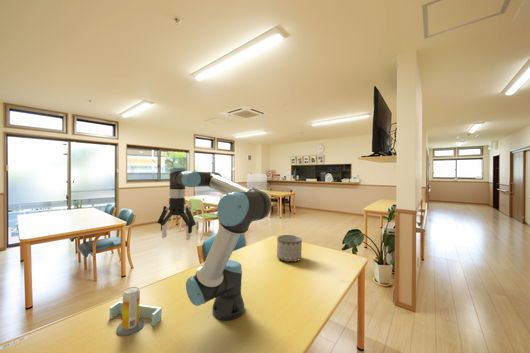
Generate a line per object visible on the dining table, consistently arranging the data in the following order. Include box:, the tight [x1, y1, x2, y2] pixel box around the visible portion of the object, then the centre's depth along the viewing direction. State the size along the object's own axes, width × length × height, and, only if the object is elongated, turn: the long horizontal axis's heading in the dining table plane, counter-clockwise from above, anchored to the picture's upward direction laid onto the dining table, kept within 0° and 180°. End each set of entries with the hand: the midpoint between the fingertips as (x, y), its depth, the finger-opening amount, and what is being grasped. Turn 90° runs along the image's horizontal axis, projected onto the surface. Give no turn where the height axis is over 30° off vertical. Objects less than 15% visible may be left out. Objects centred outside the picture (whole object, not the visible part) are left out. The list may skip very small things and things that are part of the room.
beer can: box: [121, 286, 141, 330], centre depth 91 cm, size 6×6×15 cm
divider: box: [108, 300, 163, 327], centre depth 96 cm, size 22×5×5 cm, turn 80°
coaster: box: [115, 317, 145, 337], centre depth 91 cm, size 10×10×1 cm
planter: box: [276, 234, 303, 262], centre depth 172 cm, size 19×19×16 cm
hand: (176, 238), depth 112 cm, fingers open, 13 cm apart
